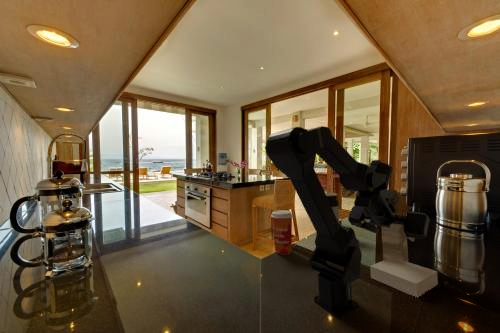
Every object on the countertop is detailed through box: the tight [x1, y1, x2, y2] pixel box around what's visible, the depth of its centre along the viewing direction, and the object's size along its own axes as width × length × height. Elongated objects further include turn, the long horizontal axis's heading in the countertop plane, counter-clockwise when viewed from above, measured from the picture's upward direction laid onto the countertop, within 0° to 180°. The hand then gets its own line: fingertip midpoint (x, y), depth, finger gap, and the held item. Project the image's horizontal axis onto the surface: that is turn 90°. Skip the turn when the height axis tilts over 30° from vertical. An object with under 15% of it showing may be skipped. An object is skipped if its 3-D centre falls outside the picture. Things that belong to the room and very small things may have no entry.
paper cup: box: [270, 209, 294, 255], centre depth 72 cm, size 8×8×14 cm
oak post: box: [380, 223, 409, 262], centre depth 60 cm, size 4×4×13 cm
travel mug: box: [325, 192, 341, 225], centre depth 86 cm, size 8×8×18 cm
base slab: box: [370, 257, 439, 299], centre depth 51 cm, size 10×10×3 cm
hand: (394, 236), depth 60 cm, fingers open, 9 cm apart
